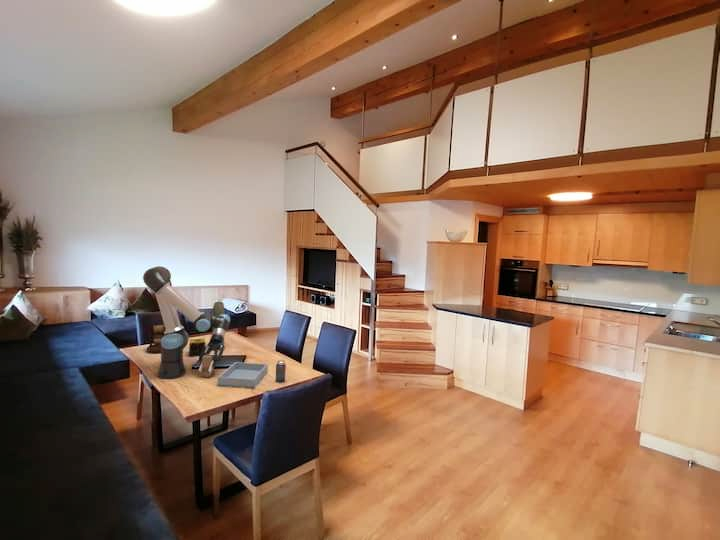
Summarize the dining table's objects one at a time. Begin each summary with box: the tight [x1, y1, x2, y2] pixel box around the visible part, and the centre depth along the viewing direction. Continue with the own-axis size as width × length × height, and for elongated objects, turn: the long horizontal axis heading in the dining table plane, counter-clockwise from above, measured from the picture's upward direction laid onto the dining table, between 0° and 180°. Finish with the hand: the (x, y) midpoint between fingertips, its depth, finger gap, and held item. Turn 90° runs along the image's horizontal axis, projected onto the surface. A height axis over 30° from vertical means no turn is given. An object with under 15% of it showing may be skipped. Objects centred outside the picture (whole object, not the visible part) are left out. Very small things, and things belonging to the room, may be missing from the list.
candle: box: [188, 338, 206, 358], centre depth 258 cm, size 10×10×10 cm
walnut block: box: [201, 353, 215, 378], centre depth 220 cm, size 5×5×12 cm
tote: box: [216, 361, 269, 389], centre depth 219 cm, size 26×21×5 cm
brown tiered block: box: [145, 323, 166, 354], centre depth 261 cm, size 15×15×20 cm
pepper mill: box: [275, 359, 287, 384], centre depth 218 cm, size 6×6×12 cm
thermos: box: [209, 301, 228, 351], centre depth 272 cm, size 9×12×35 cm
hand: (205, 371), depth 216 cm, fingers closed on walnut block, 5 cm apart
